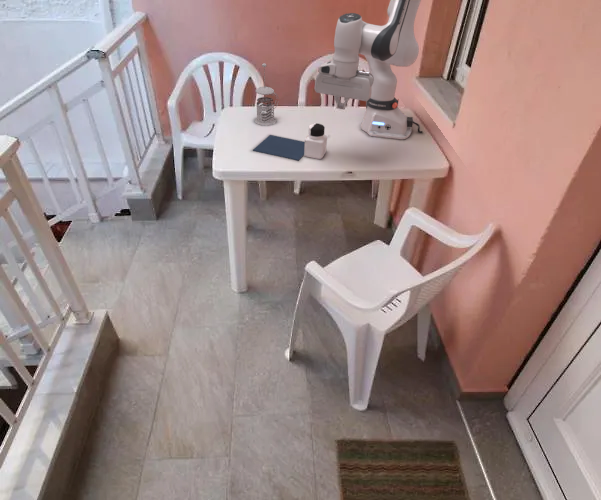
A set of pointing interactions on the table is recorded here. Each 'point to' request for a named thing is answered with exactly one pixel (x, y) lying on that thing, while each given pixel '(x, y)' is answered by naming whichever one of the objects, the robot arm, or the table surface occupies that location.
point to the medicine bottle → (315, 142)
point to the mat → (282, 147)
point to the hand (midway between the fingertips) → (340, 108)
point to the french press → (262, 116)
